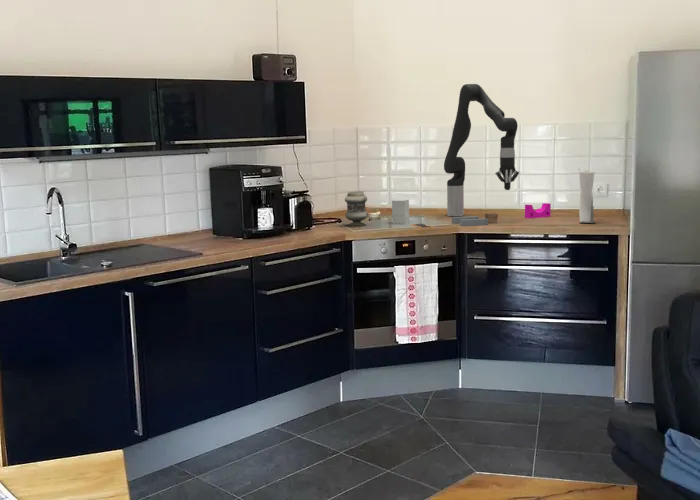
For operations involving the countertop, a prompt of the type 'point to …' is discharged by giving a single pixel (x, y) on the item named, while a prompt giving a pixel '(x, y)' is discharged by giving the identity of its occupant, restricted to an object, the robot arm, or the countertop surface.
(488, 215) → the walnut cube
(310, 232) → the countertop surface
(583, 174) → the skyscraper
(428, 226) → the trap pit
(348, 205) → the apothecary jar
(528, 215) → the toy block
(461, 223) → the grey flat slab
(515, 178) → the robot arm
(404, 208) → the supplement box
